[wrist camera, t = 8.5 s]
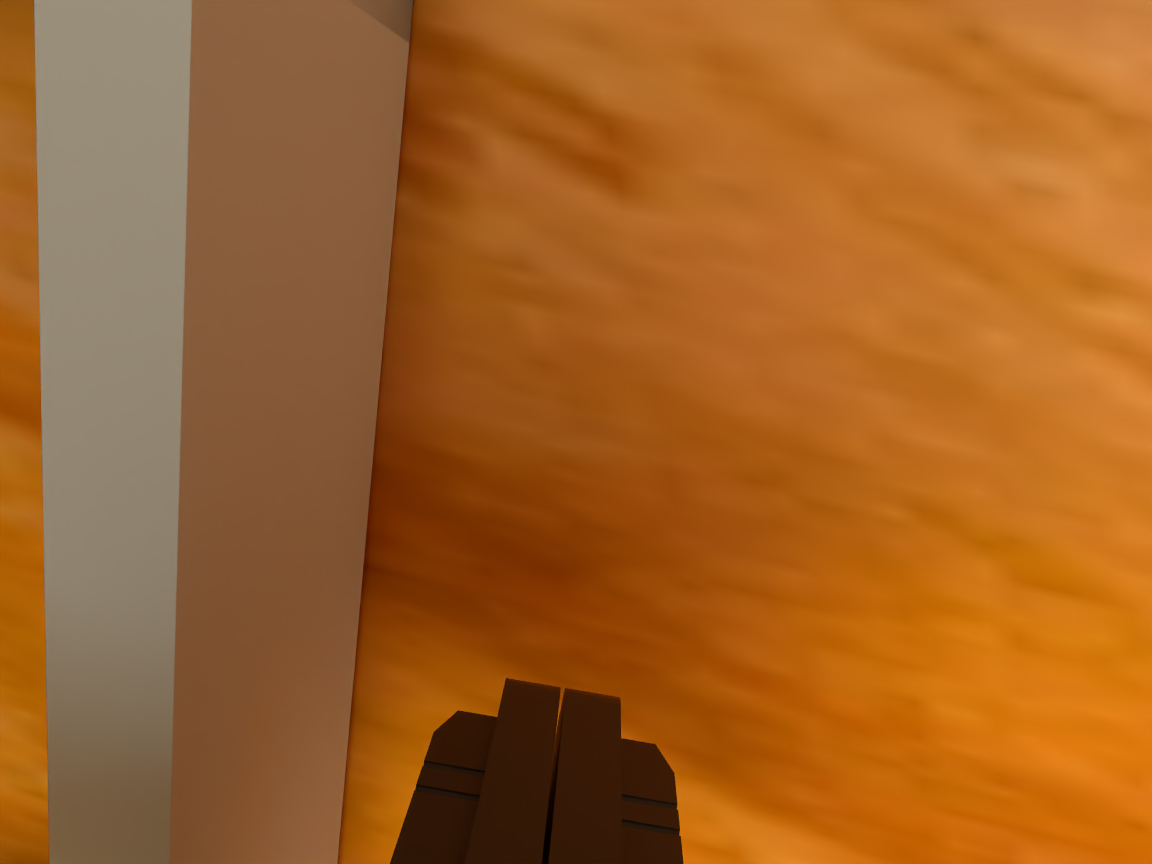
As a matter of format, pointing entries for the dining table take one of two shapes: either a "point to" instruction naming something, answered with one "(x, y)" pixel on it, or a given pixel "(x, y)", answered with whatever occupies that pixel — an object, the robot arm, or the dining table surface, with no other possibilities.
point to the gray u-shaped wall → (209, 412)
